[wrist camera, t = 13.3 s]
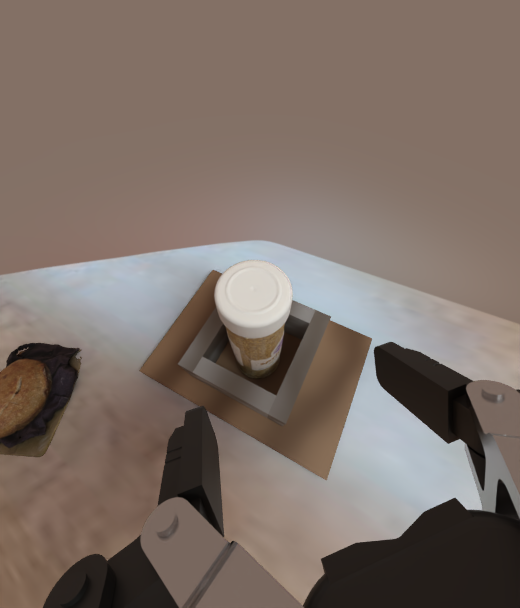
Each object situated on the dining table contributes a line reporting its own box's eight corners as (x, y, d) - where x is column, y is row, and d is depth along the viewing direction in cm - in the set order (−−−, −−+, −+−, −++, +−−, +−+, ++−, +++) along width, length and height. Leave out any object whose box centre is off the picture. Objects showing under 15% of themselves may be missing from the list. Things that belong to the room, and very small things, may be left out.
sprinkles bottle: (275, 383, 25) (287, 333, 13) (230, 374, 25) (202, 318, 13) (283, 340, 27) (298, 262, 15) (241, 332, 27) (224, 251, 16)
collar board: (143, 373, 26) (116, 358, 22) (214, 274, 32) (205, 245, 27) (323, 478, 22) (341, 490, 17) (368, 341, 28) (391, 321, 23)
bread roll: (53, 459, 24) (19, 463, 20) (-33, 450, 24) (-80, 453, 21) (96, 348, 28) (74, 337, 25) (24, 343, 29) (-7, 331, 26)
